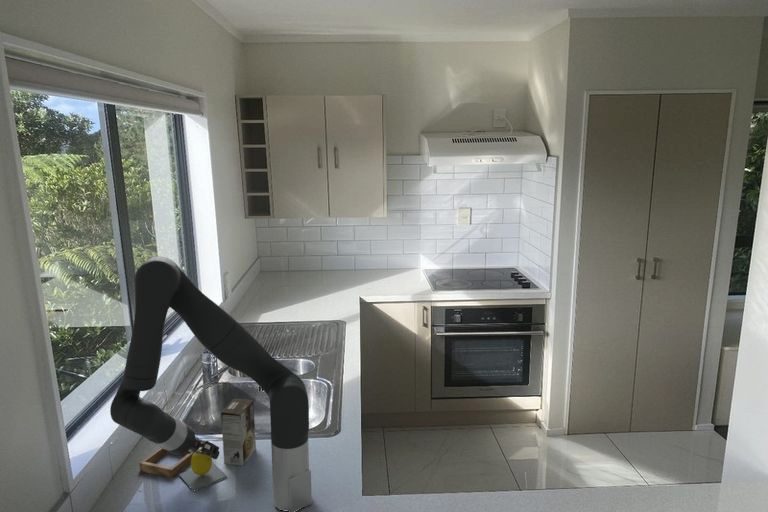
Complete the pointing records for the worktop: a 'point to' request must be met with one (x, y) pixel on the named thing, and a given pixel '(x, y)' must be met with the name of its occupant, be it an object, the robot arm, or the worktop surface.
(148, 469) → the holder
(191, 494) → the worktop surface
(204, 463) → the lemon
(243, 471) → the worktop surface
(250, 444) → the coffee box
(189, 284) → the robot arm
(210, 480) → the mat
